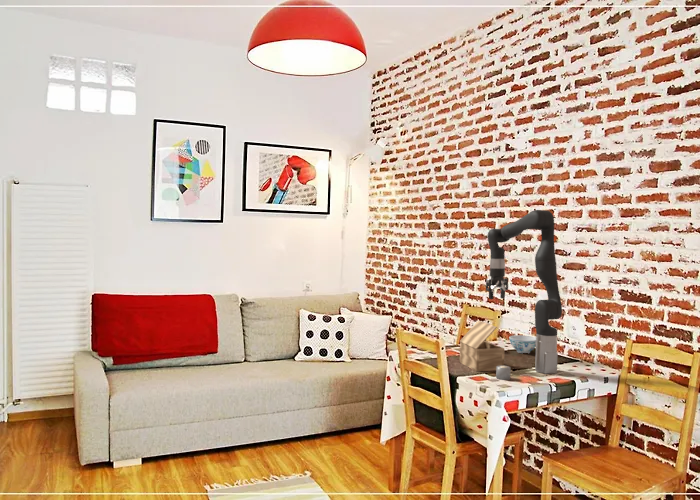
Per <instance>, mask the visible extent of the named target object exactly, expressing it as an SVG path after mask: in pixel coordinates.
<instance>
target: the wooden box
mask: <svg viewBox="0 0 700 500" xmlns="http://www.w3.org/2000/svg"><path fill="white" fill-rule="evenodd" d="M459 363H460V364H462V365H464V366H465V367H467V368H470V369H471V370H473V371H475V372H486V371H488V372H489V371H490V372H491V371H496V366H500V365H503V366H505V348H503V347H501V346H499V345H497V344H494V343H492V342H489V341H487V340H486V341H484V342H483V343H482V344H481V346H480V347H479V348H478V349H475V348H472V347H470V346H468V345H466V344H464V343H461V342H460V341H459Z"/></svg>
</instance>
